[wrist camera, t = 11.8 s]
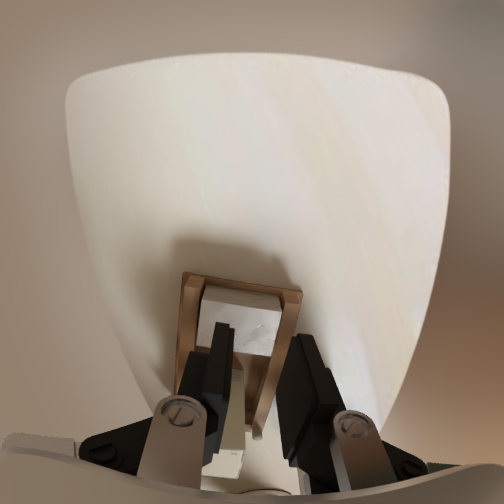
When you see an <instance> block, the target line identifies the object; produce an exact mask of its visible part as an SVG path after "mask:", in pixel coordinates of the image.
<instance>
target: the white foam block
mask: <svg viewBox="0 0 504 504" xmlns="http://www.w3.org/2000/svg"><path fill="white" fill-rule="evenodd" d="M281 315H282V310H281V306H280V302H279V298H278V296H277V295H271V294H264V293H258V292H251V291H245V290H239V289H233V288H227V287H221V286H215V285H210V284H207V286H206V289H205V292H204V294H203V297H202V302H201V310H200V318H199V327H198V335H197V344H196V345H198V346H204V347H210V348H211V343H212V338H213V333H214V328H215V323H216V322H222V323H228V324H230V327H229V328H235V335H234V349H233V351H234V352H241V353H248V354H256V355H264V356H271V354H272V350H273V346H274V342H275V338H276V334H277V331H278V327H279V323H280V319H281Z"/></svg>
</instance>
